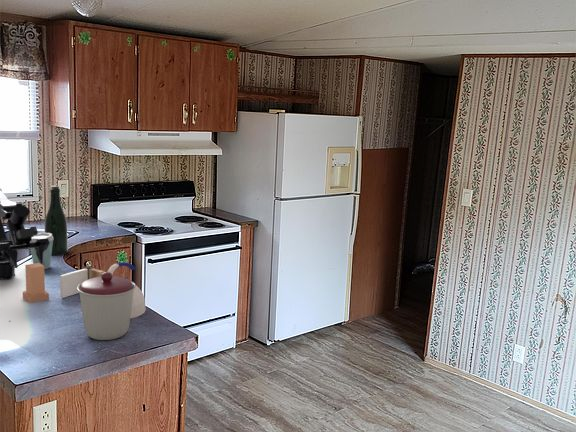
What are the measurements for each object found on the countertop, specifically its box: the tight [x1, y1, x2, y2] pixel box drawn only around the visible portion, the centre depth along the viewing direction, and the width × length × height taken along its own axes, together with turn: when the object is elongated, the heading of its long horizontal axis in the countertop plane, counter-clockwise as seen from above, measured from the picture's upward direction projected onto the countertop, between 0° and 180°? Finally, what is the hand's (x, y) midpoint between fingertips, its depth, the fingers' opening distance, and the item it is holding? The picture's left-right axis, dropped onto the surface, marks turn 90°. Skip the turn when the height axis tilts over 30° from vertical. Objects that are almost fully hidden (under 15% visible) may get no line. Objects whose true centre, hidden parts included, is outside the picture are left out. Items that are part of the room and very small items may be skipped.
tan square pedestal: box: [22, 263, 50, 304], centre depth 217 cm, size 7×7×13 cm
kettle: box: [107, 261, 147, 320], centre depth 209 cm, size 20×21×18 cm
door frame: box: [85, 264, 105, 279], centre depth 232 cm, size 22×2×10 cm, turn 61°
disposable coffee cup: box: [29, 232, 54, 270], centre depth 256 cm, size 11×11×15 cm
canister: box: [77, 271, 137, 341], centre depth 187 cm, size 18×18×21 cm
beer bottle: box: [44, 185, 69, 256], centre depth 279 cm, size 10×10×33 cm
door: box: [59, 268, 88, 298], centre depth 224 cm, size 12×3×9 cm, turn 151°
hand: (29, 265), depth 220 cm, fingers open, 9 cm apart
